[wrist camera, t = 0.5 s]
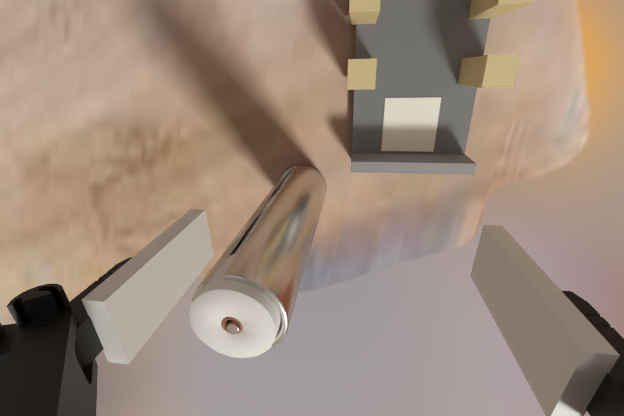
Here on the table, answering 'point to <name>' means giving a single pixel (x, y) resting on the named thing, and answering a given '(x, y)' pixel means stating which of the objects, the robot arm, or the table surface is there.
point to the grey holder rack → (421, 81)
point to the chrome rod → (261, 270)
